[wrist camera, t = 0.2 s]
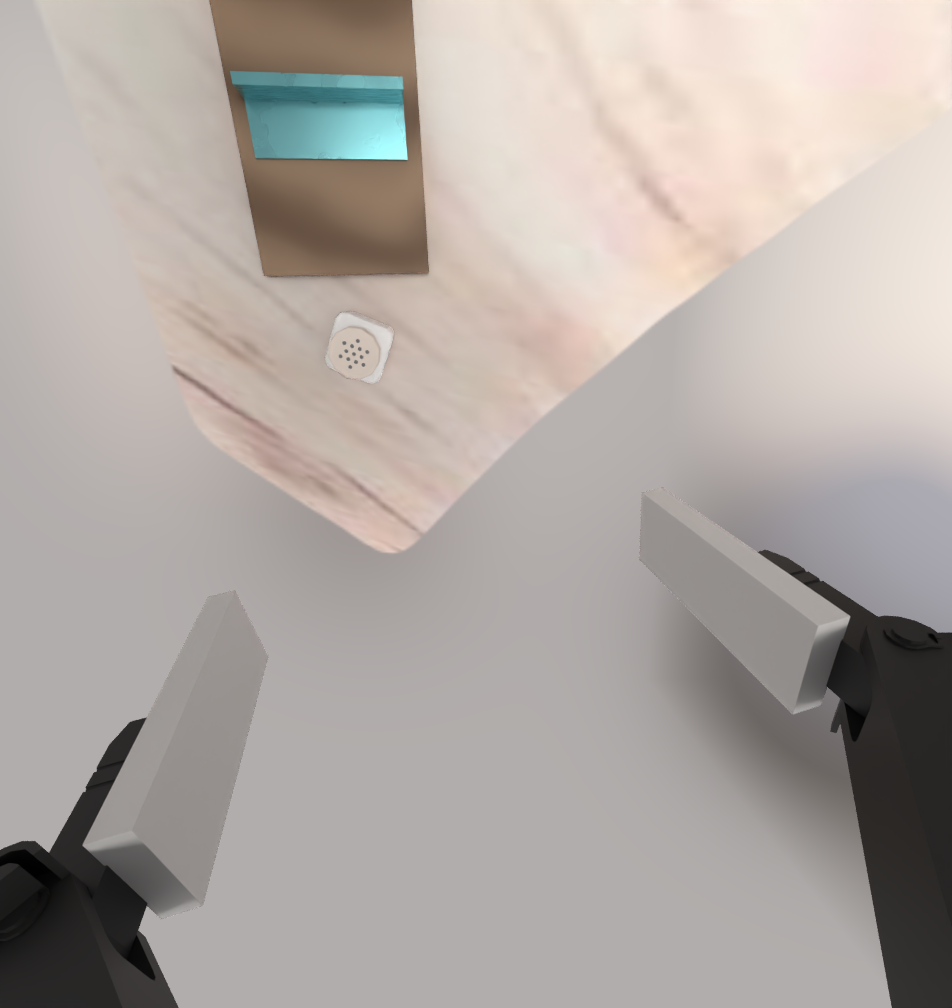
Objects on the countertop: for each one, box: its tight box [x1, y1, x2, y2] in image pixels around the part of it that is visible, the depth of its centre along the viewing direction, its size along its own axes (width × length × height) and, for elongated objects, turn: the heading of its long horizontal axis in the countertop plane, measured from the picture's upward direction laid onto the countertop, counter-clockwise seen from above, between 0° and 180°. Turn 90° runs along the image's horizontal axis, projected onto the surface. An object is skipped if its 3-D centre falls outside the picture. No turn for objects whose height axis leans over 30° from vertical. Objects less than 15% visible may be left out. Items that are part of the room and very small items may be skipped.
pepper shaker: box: [325, 312, 394, 383], centre depth 32 cm, size 4×4×10 cm
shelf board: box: [210, 0, 429, 277], centre depth 29 cm, size 20×12×4 cm, turn 2°
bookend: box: [230, 71, 407, 161], centre depth 29 cm, size 4×10×2 cm, turn 92°
